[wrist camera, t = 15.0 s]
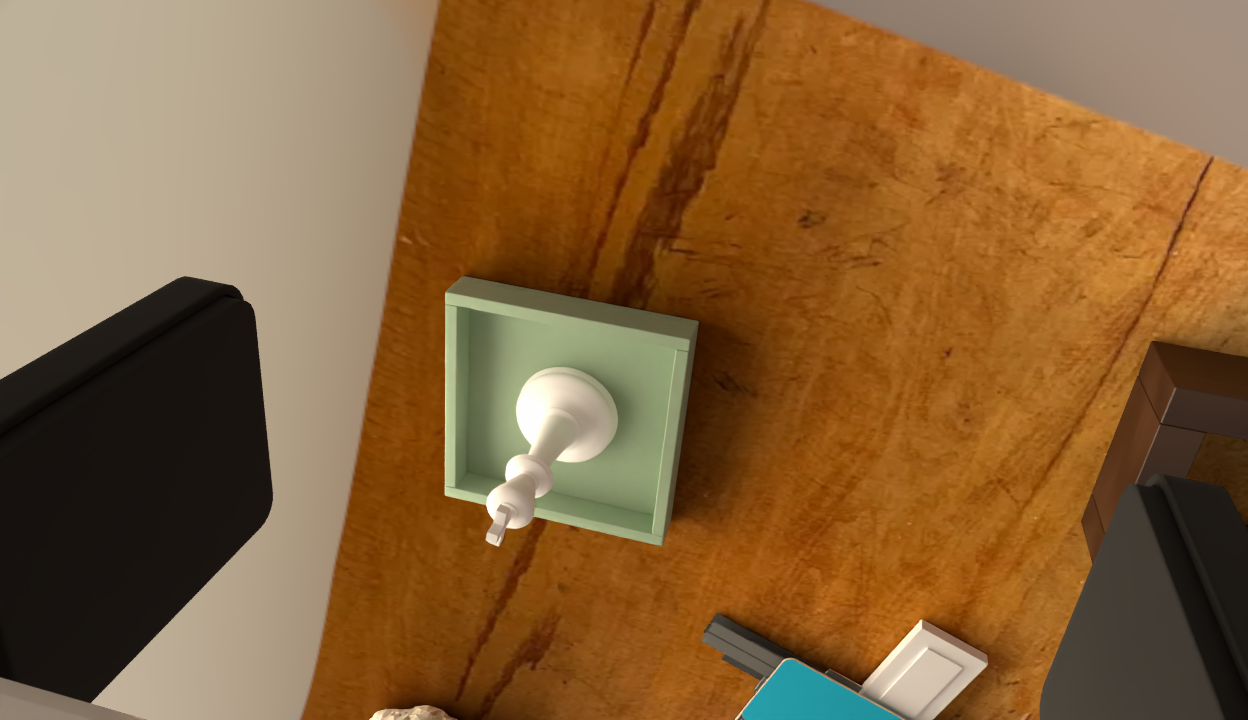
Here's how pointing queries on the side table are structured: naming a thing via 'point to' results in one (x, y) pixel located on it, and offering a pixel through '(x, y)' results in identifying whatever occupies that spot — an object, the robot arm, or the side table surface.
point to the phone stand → (836, 706)
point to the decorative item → (412, 714)
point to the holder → (1168, 423)
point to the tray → (587, 341)
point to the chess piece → (551, 440)
